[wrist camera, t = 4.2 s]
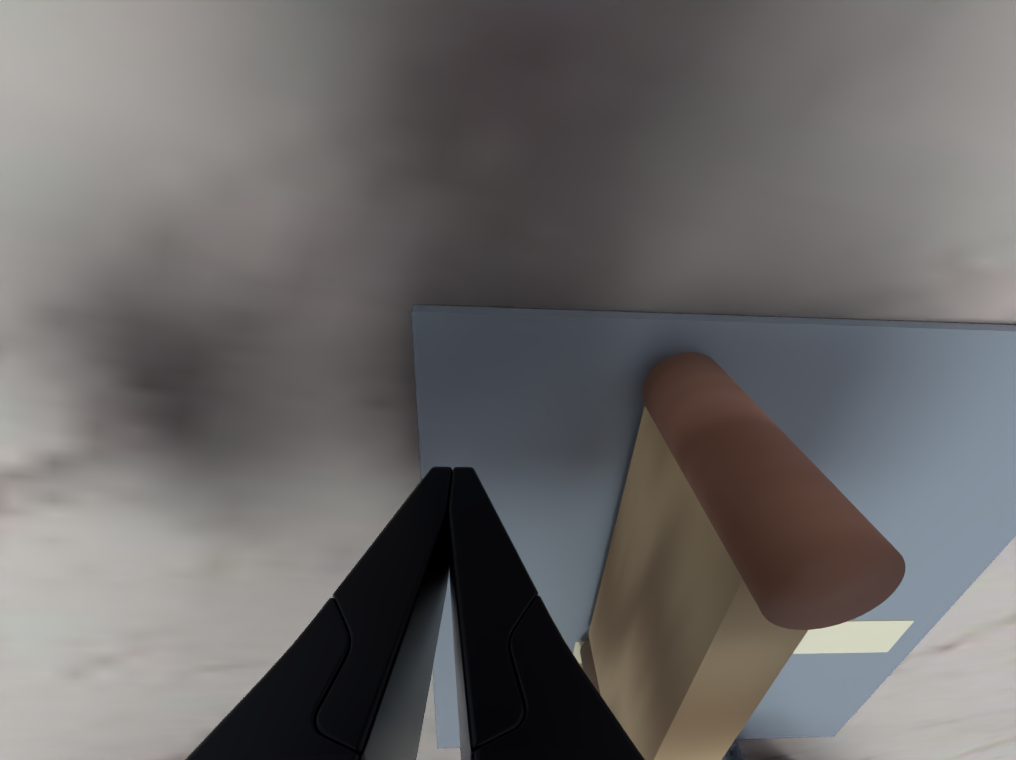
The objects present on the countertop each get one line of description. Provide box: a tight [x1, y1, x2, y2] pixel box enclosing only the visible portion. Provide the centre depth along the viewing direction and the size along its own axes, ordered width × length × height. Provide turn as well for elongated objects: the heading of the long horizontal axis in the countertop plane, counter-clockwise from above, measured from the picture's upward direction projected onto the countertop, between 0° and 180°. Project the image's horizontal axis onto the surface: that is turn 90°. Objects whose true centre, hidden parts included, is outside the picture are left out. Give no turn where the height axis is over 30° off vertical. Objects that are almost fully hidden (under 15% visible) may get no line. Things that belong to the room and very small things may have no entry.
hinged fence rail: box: [580, 352, 906, 760], centre depth 10 cm, size 12×2×5 cm, turn 177°
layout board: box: [411, 305, 1016, 748], centre depth 15 cm, size 20×18×1 cm
